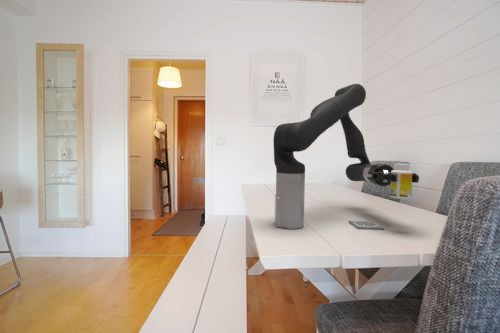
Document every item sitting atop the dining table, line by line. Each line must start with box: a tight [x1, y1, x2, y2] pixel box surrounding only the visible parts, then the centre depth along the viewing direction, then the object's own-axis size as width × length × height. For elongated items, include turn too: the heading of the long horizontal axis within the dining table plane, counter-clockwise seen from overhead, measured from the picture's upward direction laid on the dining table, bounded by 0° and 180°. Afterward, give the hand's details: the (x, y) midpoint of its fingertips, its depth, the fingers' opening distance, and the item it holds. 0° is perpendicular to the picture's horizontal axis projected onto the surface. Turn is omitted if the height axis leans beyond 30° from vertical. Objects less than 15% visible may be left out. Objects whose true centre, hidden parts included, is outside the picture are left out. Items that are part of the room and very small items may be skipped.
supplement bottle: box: [389, 163, 413, 200], centre depth 75 cm, size 6×6×10 cm
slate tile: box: [347, 220, 384, 231], centre depth 83 cm, size 8×8×1 cm
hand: (406, 178), depth 73 cm, fingers closed on supplement bottle, 5 cm apart
